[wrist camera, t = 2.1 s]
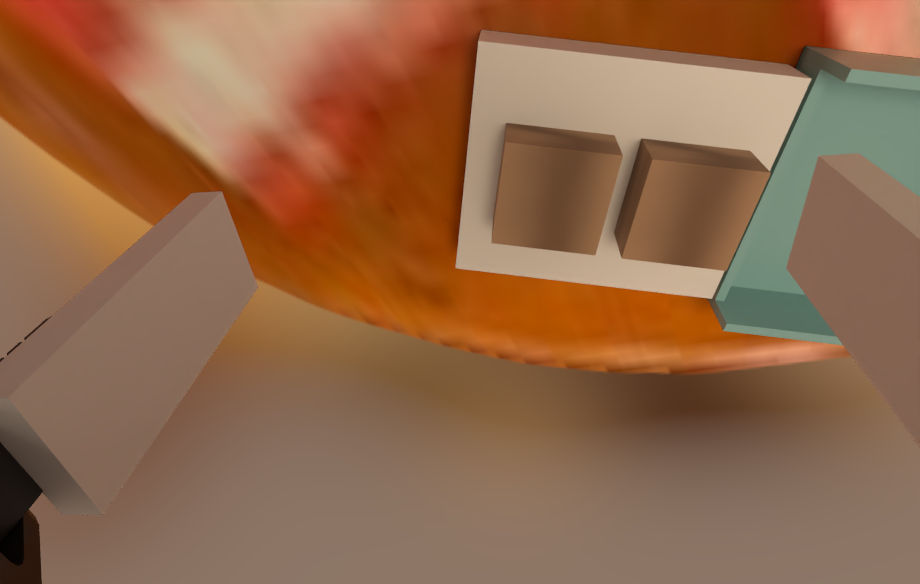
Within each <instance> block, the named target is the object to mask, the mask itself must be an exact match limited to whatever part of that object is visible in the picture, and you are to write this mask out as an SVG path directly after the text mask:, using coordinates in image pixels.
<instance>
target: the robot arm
mask: <svg viewBox="0 0 920 584" xmlns="http://www.w3.org/2000/svg"><path fill="white" fill-rule="evenodd" d="M786 269H787V270H788V272H789V273H790V274H791V276H792V277H793V278H794V280H795V281H796V282H797V284H798V285H799V286H800V288H801V289H802V290H803V292H804V293H805V294H806V296H807V297H808V299H809V300H810V301H811V303H812V304H813V305H814V307H815V308H816V309H817V311H818V312H819V313H820V315H821V316H822V317H823V319H824V320H825V321H826V323H827V324H828V325H829V327H830V328H831V329H832V331H833V332H834V333H835V335H836V336H837V337H838V339H839V340H840V341H841V343H842V344H843V345H844V347H845V348H846V349H847V351H848V352H849V353H850V355H851V356H852V358H853V359H854V360H855V362H856V363H857V364H858V366H859V367H860V368H861V370H862V371H863V372H864V373H865V375H866V376H867V378H868V379H869V380H870V382H871V383H872V384H873V385H874V387H875V388H876V390H877V391H878V392H879V394H880V395H881V396H882V398H883V399H884V400H885V402H886V403H887V404H888V406H889V407H890V408H891V410H892V411H893V413H894V414H895V415H896V416H897V418H898V419H899V421H900V422H901V423H902V425H903V426H904V427H905V429H906V430H907V431H908V433H909V434H910V435H911V437H912V438H913V439H914V441H915V442H916V443H917V445H918V446H919V447H920V197H919V196H918V195H916V194H915V193H913V192H912V191H911V190H909V189H908V188H906V187H905V186H904V185H902V184H901V183H899V182H898V181H897V180H895V179H894V178H893V177H891V176H890V175H888V174H887V173H886V172H884V171H883V170H881V169H880V168H879V167H877V166H876V165H874V164H873V163H872V162H870V161H869V160H868V159H866V158H865V157H863V156H862V155H861V154H859V153H855V154H838V155H822V156H818V159H817V163H816V166H815V170H814V173H813V177H812V180H811V184H810V187H809V190H808V194H807V197H806V201H805V204H804V208H803V211H802V215H801V218H800V222H799V225H798V228H797V232H796V235H795V239H794V242H793V246H792V249H791V253H790V256H789V260H788V263H787V267H786ZM257 288H258V286H257V283H256V280H255V278H254V275H253V273H252V270H251V267H250V265H249V262H248V259H247V257H246V254H245V251H244V249H243V246H242V244H241V241H240V238H239V236H238V233H237V230H236V228H235V225H234V222H233V220H232V217H231V215H230V212H229V209H228V207H227V204H226V201H225V199H224V196H223V193H222V191H219V192H202V193H191V194H190V195H189V196H188V197H187V198H186V199H184V200H183V201H182V202H181V203H180V204H179V205H178V206H176V207H175V208H174V209H173V210H172V211H171V212H170V213H169V214H167V215H166V216H165V217H164V218H163V219H162V220H161V221H159V222H158V223H157V224H156V225H155V226H154V227H153V228H151V229H150V230H149V231H148V232H147V233H146V234H145V235H144V236H142V237H141V238H140V239H139V240H138V241H137V242H136V243H135V244H133V245H132V246H131V247H130V248H129V249H128V250H127V251H126V252H124V253H123V254H122V255H121V256H120V257H119V258H117V259H116V260H115V261H114V262H113V263H112V264H111V265H110V266H108V267H107V268H106V269H105V270H104V271H103V272H102V273H100V274H99V275H98V276H97V277H96V278H95V279H94V280H93V281H92V282H90V283H89V284H88V285H87V286H86V287H85V288H84V289H83V290H81V291H80V292H79V293H78V294H77V295H76V296H74V297H73V298H72V299H71V300H70V301H69V302H68V303H66V304H65V305H64V306H63V307H62V308H61V309H60V310H59V311H57V313H55V314H54V315H53V316H51V317H49V318H48V319H46V320H45V321H43V322H42V323H41V324H40V325H39V326H38V327H37V328H35V329H34V330H33V331H32V332H31V333H30V334H29V335H27V336H26V337H25V338H24V339H25V341H23V342H20V343H18V344H17V345H16V346H15V347H14V348H13V349H12V350H10V351H9V352H8V353H7V356H6V357H5V358H1V359H0V584H42V581H41V557H40V536H39V524H38V522H37V519H36V517H35V516H34V515H33V514H32V513H31V511H30V510H29V508H30V507H31V506H32V504H33V503H34V502H35V501H36V500H37V498H38V497H39V496H40V494H41V493H43V494H44V495H45V496H46V497H47V498H48V499H49V500H50V501H51V502H52V504H53V505H54V506H55V507H56V508H57V509H58V511H59V512H60V513H61V514H77V515H78V514H79V515H80V514H81V515H104V513H105V512H106V510H107V509H108V507H109V506H110V504H111V503H112V501H113V500H114V498H115V497H116V495H117V494H118V493H119V491H120V490H121V488H122V487H123V485H124V484H125V482H126V481H127V479H128V478H129V476H130V475H131V473H132V472H133V470H134V469H135V468H136V466H137V465H138V463H139V462H140V460H141V459H142V457H143V456H144V454H145V453H146V451H147V450H148V448H149V447H150V445H151V444H152V442H153V441H154V439H155V438H156V437H157V435H158V434H159V432H160V431H161V429H162V428H163V426H164V425H165V423H166V422H167V420H168V419H169V417H170V416H171V414H172V413H173V412H174V410H175V408H176V407H177V406H178V404H179V403H180V401H181V400H182V398H183V397H184V395H185V394H186V392H187V391H188V389H189V388H190V386H191V385H192V383H193V382H194V381H195V379H196V378H197V376H198V375H199V373H200V372H201V370H202V369H203V367H204V366H205V364H206V363H207V361H208V360H209V358H210V357H211V356H212V354H213V353H214V351H215V350H216V348H217V347H218V345H219V344H220V342H221V341H222V339H223V338H224V336H225V335H226V333H227V332H228V330H229V329H230V328H231V326H232V325H233V323H234V322H235V320H236V319H237V317H238V316H239V314H240V313H241V311H242V310H243V308H244V307H245V305H246V304H247V303H248V301H249V300H250V298H251V297H252V295H253V294H254V292H255V291H256V289H257Z"/></svg>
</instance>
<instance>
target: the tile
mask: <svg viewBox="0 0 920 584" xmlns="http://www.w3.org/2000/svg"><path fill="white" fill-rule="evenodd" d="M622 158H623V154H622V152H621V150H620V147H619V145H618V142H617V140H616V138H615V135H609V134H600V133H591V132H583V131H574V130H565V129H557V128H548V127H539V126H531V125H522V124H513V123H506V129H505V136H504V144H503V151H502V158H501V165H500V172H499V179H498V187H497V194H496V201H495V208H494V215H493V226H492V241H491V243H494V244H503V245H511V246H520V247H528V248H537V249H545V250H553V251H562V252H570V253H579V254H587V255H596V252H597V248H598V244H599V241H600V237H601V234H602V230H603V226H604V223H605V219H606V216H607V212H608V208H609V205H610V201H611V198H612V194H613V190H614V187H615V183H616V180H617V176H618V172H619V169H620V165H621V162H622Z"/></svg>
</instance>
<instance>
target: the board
mask: <svg viewBox="0 0 920 584" xmlns="http://www.w3.org/2000/svg"><path fill="white" fill-rule="evenodd" d="M811 79H812V78H810V77H808V76H806V75H805V74H803V73H801V72H800V71H798V70H796V69H795V68H793V67H791V66H790V65H788V64H781V63H772V62H763V61H754V60H746V59H737V58H728V57H719V56H710V55H701V54H692V53H683V52H675V51H666V50H657V49H648V48H639V47H630V46H621V45H612V44H604V43H595V42H586V41H577V40H568V39H559V38H550V37H541V36H533V35H524V34H515V33H506V32H497V31H488V30H481V33H480V36H479V40H478V49H477V59H476V69H475V79H474V89H473V99H472V109H471V119H470V129H469V139H468V149H467V159H466V169H465V179H464V189H463V199H462V209H461V219H460V229H459V239H458V249H457V259H456V268H458V269H466V270H475V271H483V272H491V273H500V274H508V275H517V276H525V277H533V278H542V279H550V280H558V281H567V282H575V283H584V284H592V285H600V286H609V287H617V288H625V289H634V290H642V291H651V292H659V293H667V294H676V295H684V296H692V297H701V298H709V299H712V298H713V295H714V293H715V291H716V289H717V287H718V284H719V282H720V280H721V278H722V276H723V273H724V271H722V270H714V269H705V268H697V267H688V266H680V265H671V264H663V263H655V262H646V261H638V260H629V259H622V258H621V255H620V252H619V248H618V245H617V242H616V238H615V235H614V230H615V227H616V224H617V220H618V217H619V213H620V210H621V207H622V203H623V200H624V196H625V193H626V189H627V186H628V183H629V179H630V176H631V172H632V169H633V166H634V162H635V159H636V155H637V152H638V148H639V145H640V142H641V138H643V139H652V140H661V141H669V142H678V143H687V144H696V145H704V146H713V147H722V148H730V149H739V150H748V151H751V152H752V153H753V154H754V155H755V156H756V157H757V158H758V160H759V161H760V162H761V163H762V164H763V165H764V166H765V167H766V168H767V169H768V170H769V171H770V170H771V167H772V165H773V163H774V161H775V159H776V156H777V154H778V152H779V150H780V148H781V145H782V143H783V141H784V139H785V137H786V134H787V132H788V130H789V128H790V125H791V123H792V121H793V119H794V117H795V114H796V112H797V110H798V108H799V106H800V103H801V101H802V99H803V97H804V95H805V92H806V90H807V88H808V86H809V84H810V81H811ZM506 123H513V124H522V125H531V126H539V127H548V128H557V129H565V130H574V131H583V132H591V133H600V134H609V135H615V138H616V140H617V142H618V145H619V147H620V150H621V152H622V154H623V158H622V162H621V165H620V169H619V172H618V176H617V180H616V183H615V187H614V190H613V194H612V198H611V201H610V205H609V208H608V212H607V216H606V219H605V223H604V226H603V230H602V234H601V237H600V241H599V244H598V248H597V252H596V255H587V254H579V253H570V252H562V251H553V250H545V249H537V248H528V247H520V246H511V245H503V244H494V243H491V241H492V226H493V215H494V208H495V201H496V194H497V187H498V179H499V172H500V165H501V158H502V151H503V144H504V136H505V129H506Z"/></svg>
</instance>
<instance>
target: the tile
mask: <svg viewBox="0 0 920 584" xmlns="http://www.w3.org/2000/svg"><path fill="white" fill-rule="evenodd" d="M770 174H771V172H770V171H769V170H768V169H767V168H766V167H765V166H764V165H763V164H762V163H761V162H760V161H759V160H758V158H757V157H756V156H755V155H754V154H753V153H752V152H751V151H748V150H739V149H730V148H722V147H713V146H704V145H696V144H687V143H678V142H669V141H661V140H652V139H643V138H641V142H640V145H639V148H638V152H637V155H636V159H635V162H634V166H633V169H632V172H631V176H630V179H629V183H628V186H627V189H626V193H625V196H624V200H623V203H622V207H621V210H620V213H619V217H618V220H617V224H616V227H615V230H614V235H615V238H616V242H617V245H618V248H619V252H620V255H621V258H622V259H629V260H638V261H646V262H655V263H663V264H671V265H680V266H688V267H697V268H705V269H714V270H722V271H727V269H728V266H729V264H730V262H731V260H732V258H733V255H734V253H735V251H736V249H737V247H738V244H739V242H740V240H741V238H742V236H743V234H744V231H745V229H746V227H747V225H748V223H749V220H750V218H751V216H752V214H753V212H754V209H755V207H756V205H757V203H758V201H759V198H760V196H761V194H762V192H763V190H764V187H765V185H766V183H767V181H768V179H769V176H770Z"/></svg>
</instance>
